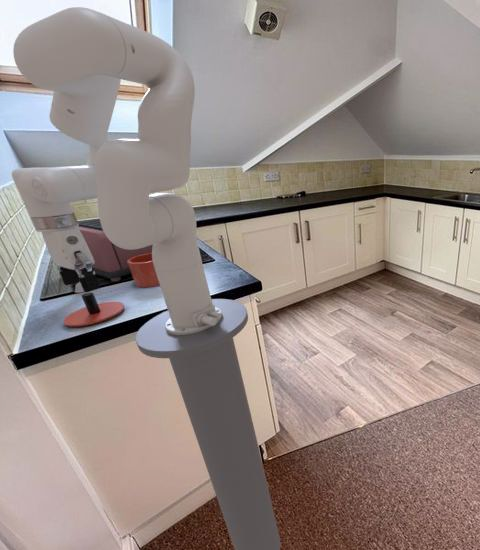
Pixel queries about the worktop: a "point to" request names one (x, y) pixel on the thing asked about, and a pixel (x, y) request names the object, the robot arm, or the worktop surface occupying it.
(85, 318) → the lid
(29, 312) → the worktop surface
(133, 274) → the pot
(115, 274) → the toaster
